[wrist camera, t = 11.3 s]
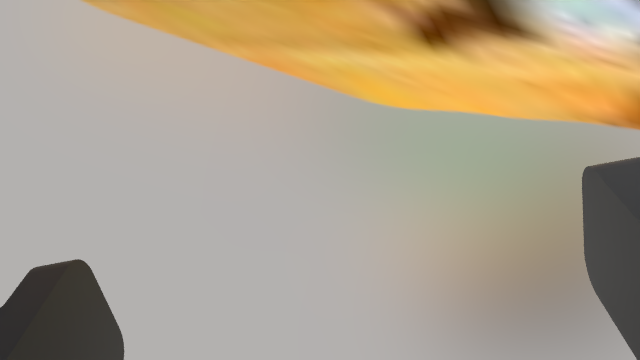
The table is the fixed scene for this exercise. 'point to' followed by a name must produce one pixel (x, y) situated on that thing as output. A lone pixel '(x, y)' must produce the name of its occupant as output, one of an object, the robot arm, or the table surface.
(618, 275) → the robot arm
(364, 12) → the table surface
